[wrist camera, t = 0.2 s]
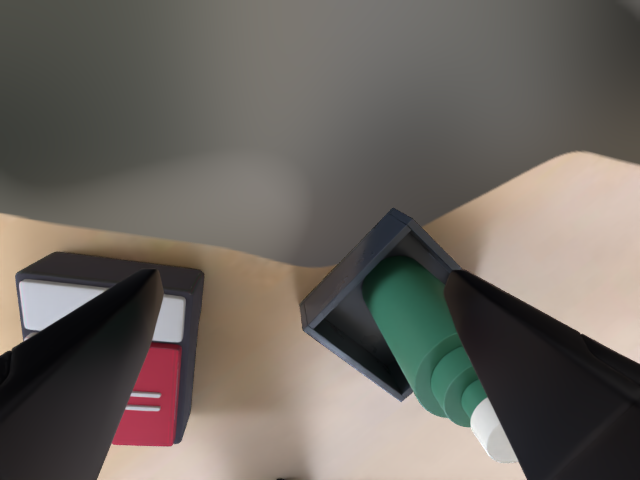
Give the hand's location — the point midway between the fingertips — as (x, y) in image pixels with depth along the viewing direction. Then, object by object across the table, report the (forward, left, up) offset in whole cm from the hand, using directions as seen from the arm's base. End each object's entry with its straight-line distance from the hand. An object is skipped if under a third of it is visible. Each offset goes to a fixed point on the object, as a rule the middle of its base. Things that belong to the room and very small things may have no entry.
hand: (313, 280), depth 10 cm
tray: (-1, -13, -15) cm, 20 cm away
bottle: (0, -12, -15) cm, 19 cm away
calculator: (-18, +2, -16) cm, 24 cm away
